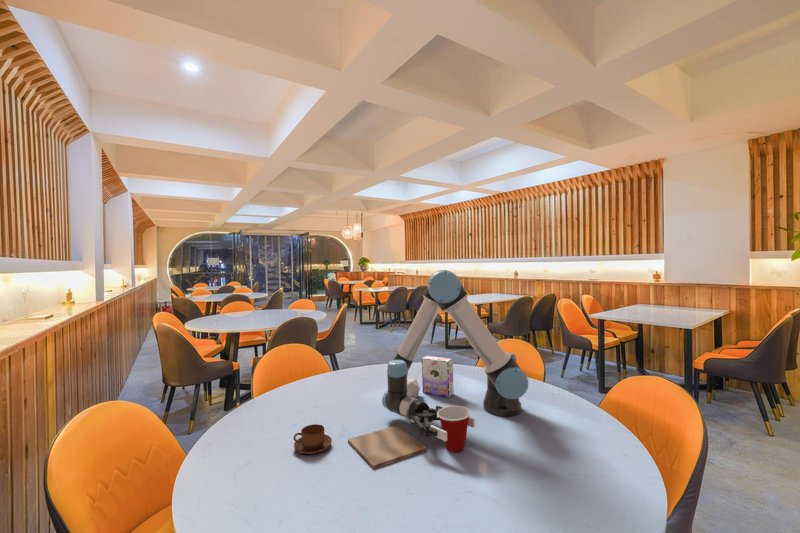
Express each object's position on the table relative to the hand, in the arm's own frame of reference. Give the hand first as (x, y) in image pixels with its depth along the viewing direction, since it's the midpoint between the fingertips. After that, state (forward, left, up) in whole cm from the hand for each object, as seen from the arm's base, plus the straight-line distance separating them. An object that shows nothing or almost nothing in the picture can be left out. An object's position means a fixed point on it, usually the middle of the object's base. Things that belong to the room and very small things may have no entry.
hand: (460, 429), depth 111 cm
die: (-13, -49, -7) cm, 51 cm away
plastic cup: (0, -3, -7) cm, 8 cm away
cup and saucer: (+39, -28, -7) cm, 49 cm away
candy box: (-26, -46, -7) cm, 53 cm away
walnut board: (+18, -16, -7) cm, 25 cm away
